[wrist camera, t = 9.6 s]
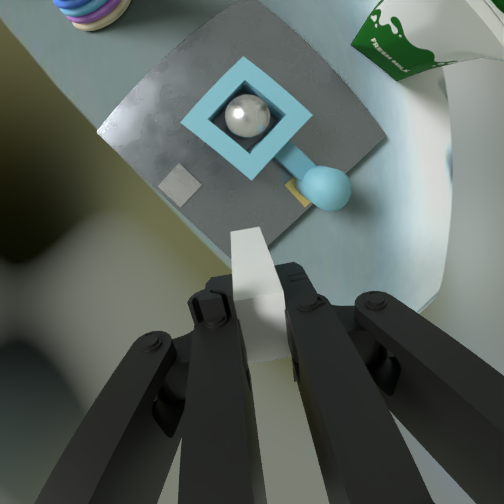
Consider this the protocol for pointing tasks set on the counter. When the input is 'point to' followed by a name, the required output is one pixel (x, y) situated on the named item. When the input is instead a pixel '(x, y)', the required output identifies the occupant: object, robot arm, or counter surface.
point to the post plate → (222, 179)
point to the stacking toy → (92, 12)
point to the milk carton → (431, 34)
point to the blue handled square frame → (267, 135)
